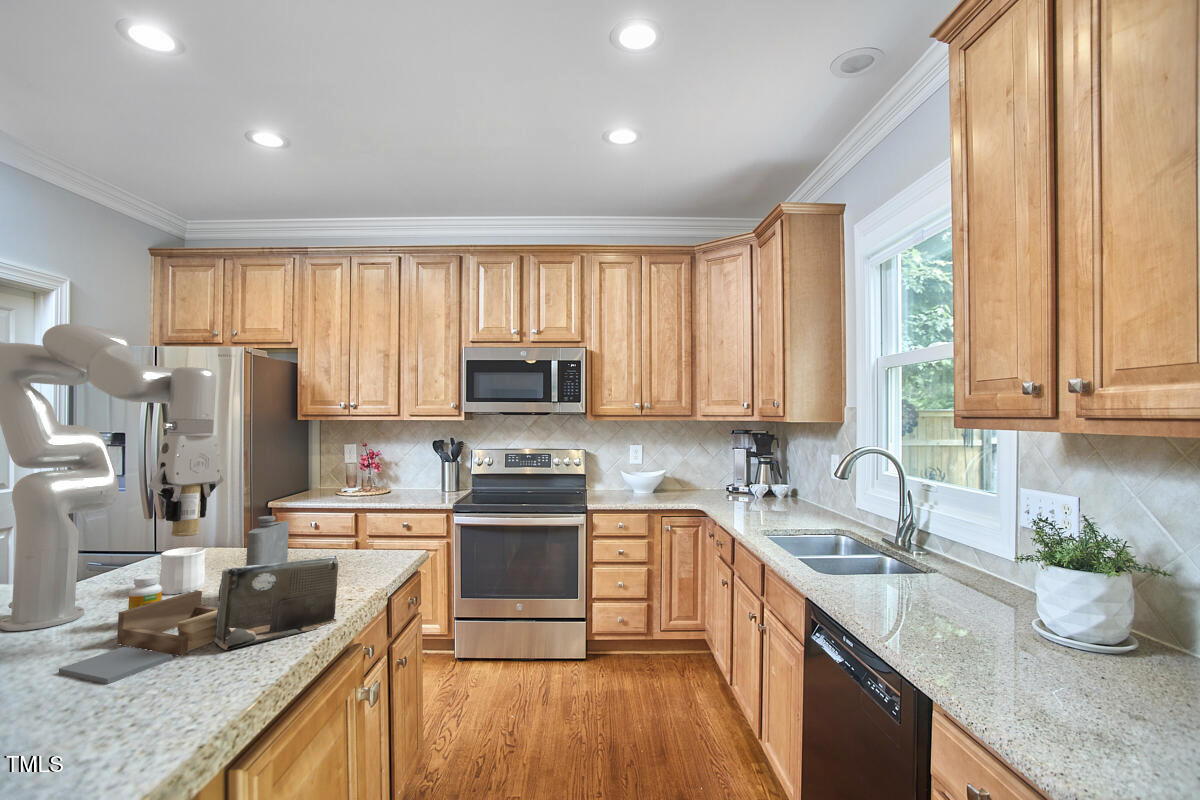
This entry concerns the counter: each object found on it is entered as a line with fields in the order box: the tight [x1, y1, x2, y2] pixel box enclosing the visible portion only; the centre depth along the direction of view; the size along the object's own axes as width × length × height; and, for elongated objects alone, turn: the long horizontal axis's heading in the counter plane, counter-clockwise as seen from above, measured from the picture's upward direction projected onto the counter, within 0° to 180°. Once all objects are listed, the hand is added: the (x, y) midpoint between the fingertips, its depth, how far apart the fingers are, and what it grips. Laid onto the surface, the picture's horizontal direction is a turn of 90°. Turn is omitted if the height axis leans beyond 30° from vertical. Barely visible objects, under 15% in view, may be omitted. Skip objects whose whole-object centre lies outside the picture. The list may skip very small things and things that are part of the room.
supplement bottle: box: [127, 573, 163, 610], centre depth 116 cm, size 5×5×10 cm
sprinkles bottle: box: [170, 484, 201, 538], centre depth 112 cm, size 5×5×14 cm
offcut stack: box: [176, 610, 218, 652], centre depth 108 cm, size 4×11×4 cm, turn 162°
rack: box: [116, 590, 218, 657], centre depth 110 cm, size 17×15×6 cm
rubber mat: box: [58, 646, 173, 685], centre depth 96 cm, size 12×10×1 cm
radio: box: [213, 555, 339, 651], centre depth 113 cm, size 23×9×15 cm, turn 136°
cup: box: [158, 546, 207, 595], centre depth 141 cm, size 10×10×10 cm
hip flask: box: [245, 515, 290, 566], centre depth 133 cm, size 16×4×20 cm, turn 6°
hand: (186, 518), depth 111 cm, fingers closed on sprinkles bottle, 4 cm apart
